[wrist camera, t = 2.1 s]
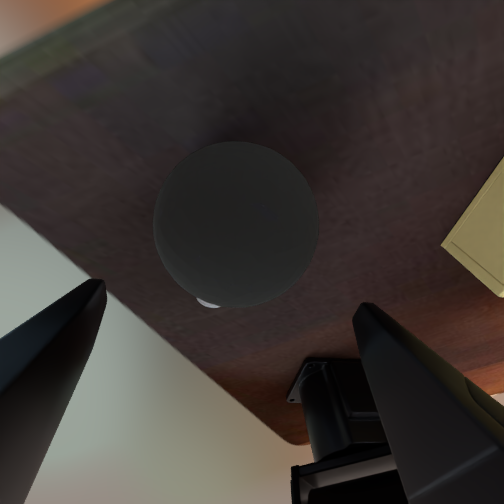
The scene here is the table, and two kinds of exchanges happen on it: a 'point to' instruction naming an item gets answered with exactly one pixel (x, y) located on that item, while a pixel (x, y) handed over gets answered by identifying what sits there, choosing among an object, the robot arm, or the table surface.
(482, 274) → the cream bin
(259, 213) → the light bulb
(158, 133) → the table surface
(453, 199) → the table surface
